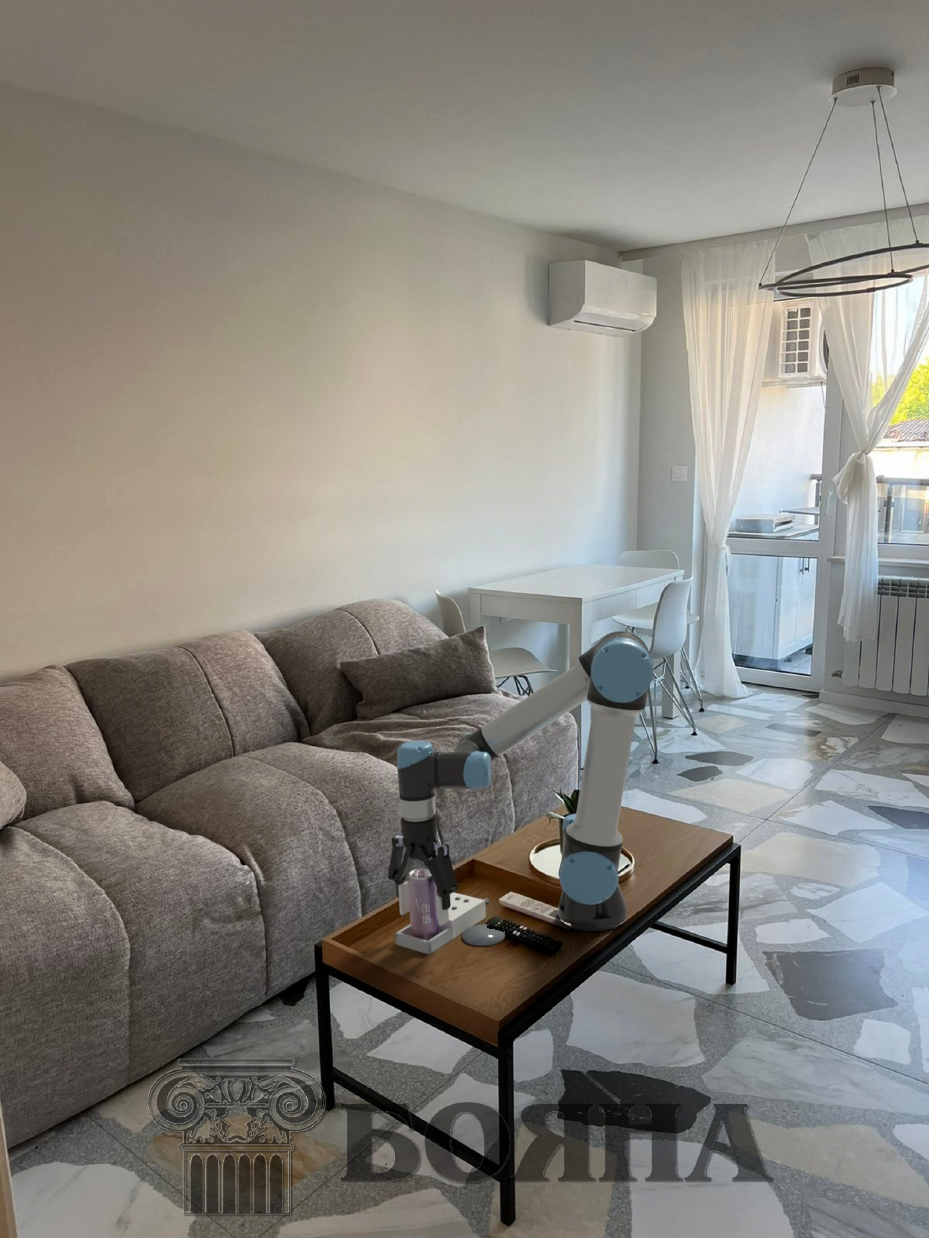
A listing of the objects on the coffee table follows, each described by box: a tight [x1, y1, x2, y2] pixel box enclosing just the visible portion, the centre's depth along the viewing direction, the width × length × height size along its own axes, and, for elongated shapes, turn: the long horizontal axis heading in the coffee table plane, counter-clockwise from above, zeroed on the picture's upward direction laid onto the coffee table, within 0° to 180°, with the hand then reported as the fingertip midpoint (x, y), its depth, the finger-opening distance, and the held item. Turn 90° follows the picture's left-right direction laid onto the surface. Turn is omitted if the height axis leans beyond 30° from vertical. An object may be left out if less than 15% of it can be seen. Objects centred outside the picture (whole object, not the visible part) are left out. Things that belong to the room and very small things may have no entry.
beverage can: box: [407, 867, 439, 941], centre depth 199 cm, size 6×6×15 cm
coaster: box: [462, 923, 506, 947], centre depth 201 cm, size 9×9×1 cm
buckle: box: [394, 892, 490, 955], centre depth 207 cm, size 28×9×5 cm, turn 144°
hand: (424, 917), depth 200 cm, fingers open, 10 cm apart
